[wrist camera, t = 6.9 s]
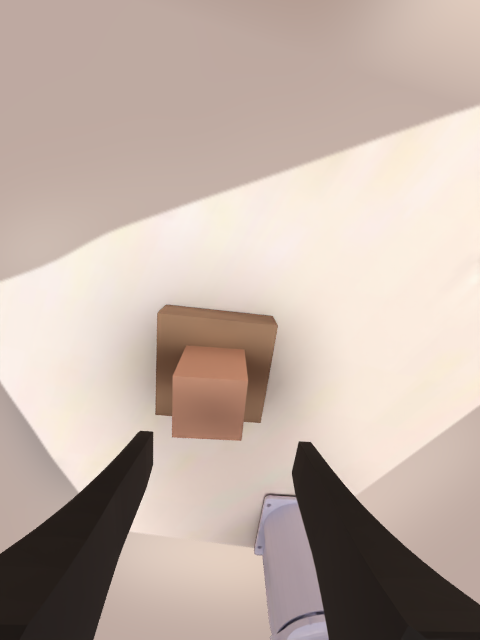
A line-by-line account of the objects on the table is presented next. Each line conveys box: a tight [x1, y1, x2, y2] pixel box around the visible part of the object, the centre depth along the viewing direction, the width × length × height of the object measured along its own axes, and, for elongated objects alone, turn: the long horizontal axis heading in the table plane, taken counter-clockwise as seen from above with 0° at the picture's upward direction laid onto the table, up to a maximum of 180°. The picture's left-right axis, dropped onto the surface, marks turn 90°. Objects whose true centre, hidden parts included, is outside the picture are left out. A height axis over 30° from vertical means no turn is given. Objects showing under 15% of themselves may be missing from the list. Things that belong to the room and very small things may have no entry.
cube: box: [172, 345, 248, 441], centre depth 17 cm, size 4×4×4 cm
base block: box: [155, 305, 278, 423], centre depth 21 cm, size 9×9×2 cm
